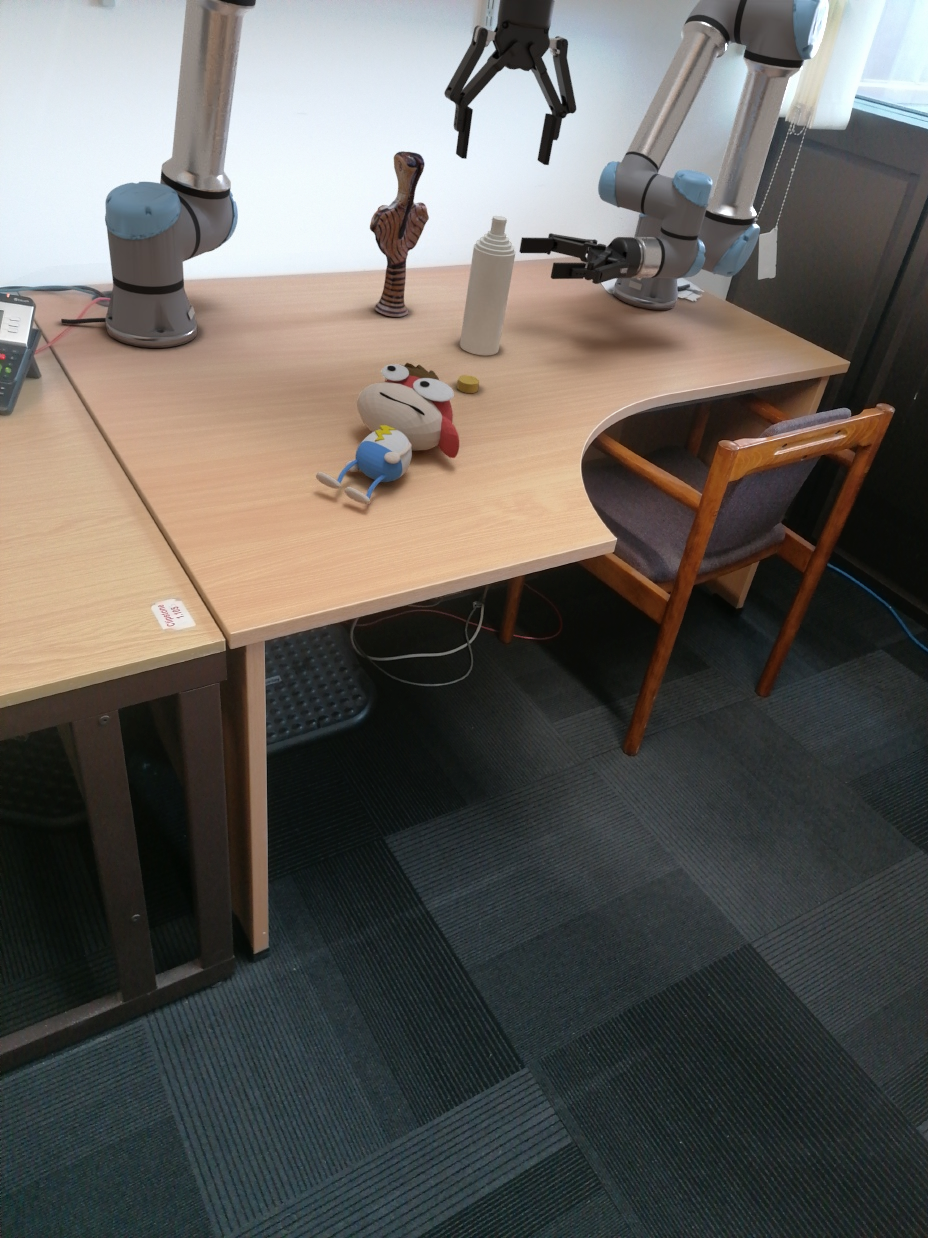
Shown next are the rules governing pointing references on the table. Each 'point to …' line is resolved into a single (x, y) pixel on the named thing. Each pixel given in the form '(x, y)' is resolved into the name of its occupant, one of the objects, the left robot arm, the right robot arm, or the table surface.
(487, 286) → the bottle
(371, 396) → the toy
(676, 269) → the right robot arm
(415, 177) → the figurine
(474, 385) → the cap
